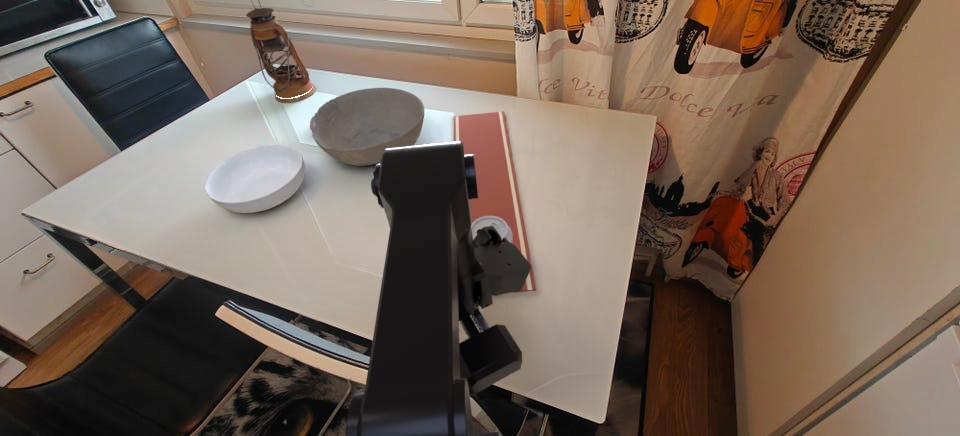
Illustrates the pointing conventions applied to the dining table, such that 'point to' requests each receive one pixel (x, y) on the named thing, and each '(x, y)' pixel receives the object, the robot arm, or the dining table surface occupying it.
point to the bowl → (367, 124)
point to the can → (496, 223)
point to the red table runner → (494, 175)
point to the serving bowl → (256, 178)
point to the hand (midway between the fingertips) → (463, 341)
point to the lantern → (289, 76)
